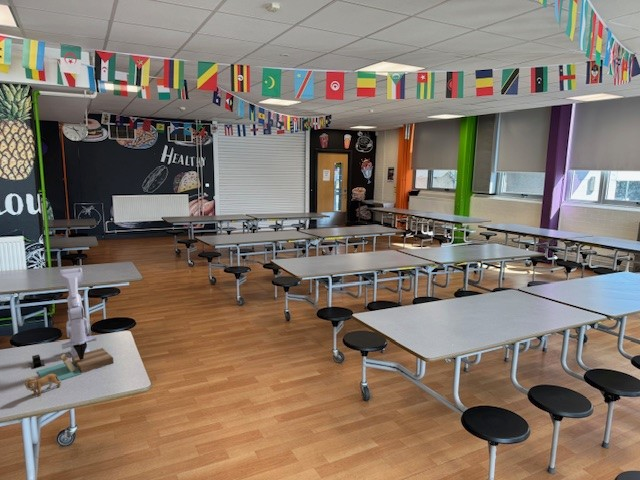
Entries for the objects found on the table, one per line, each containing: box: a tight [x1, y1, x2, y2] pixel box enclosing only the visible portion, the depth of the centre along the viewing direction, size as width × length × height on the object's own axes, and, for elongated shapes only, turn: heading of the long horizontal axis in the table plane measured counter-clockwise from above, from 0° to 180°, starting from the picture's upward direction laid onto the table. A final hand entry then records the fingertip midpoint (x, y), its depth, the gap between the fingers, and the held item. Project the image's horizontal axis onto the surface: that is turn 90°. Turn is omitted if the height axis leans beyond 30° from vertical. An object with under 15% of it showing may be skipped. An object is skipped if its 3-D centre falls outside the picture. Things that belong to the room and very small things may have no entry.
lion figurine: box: [24, 374, 62, 397], centre depth 179 cm, size 15×5×9 cm, turn 160°
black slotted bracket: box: [28, 354, 46, 370], centre depth 206 cm, size 12×7×5 cm, turn 40°
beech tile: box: [60, 353, 76, 372], centre depth 199 cm, size 9×6×2 cm
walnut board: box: [71, 347, 114, 374], centre depth 206 cm, size 16×14×3 cm
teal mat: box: [36, 361, 82, 386], centre depth 197 cm, size 18×14×1 cm
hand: (81, 358), depth 203 cm, fingers closed
